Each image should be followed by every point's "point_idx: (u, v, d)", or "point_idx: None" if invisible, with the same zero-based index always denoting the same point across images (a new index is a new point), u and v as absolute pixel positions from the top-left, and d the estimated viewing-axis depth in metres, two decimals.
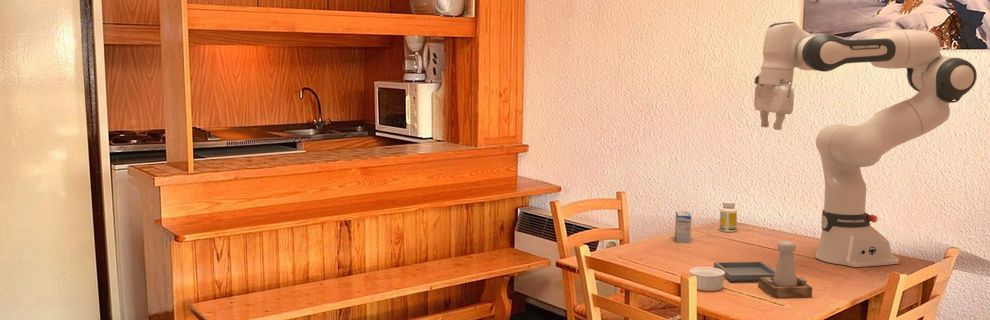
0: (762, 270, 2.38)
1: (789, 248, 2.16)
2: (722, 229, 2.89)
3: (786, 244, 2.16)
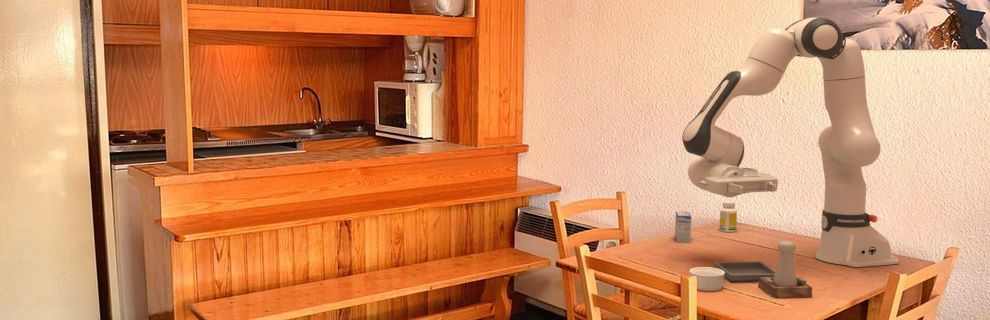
0: (762, 270, 2.38)
1: (789, 248, 2.16)
2: (722, 229, 2.89)
3: (786, 244, 2.16)
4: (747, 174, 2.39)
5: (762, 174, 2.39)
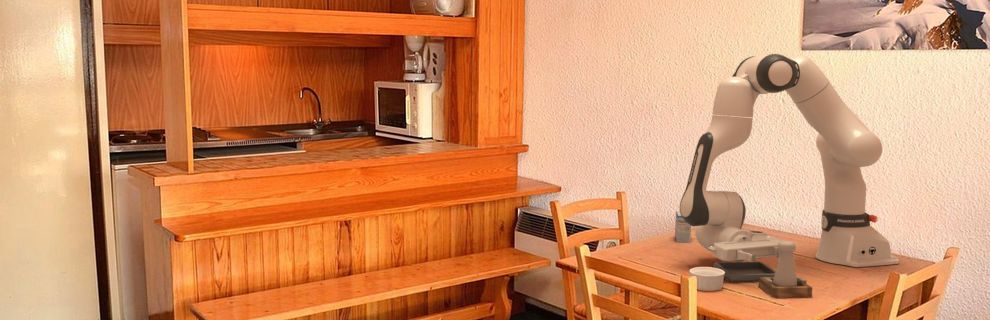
0: (762, 270, 2.38)
1: (789, 248, 2.16)
2: None
3: (786, 244, 2.16)
4: (756, 238, 2.36)
5: (771, 238, 2.37)
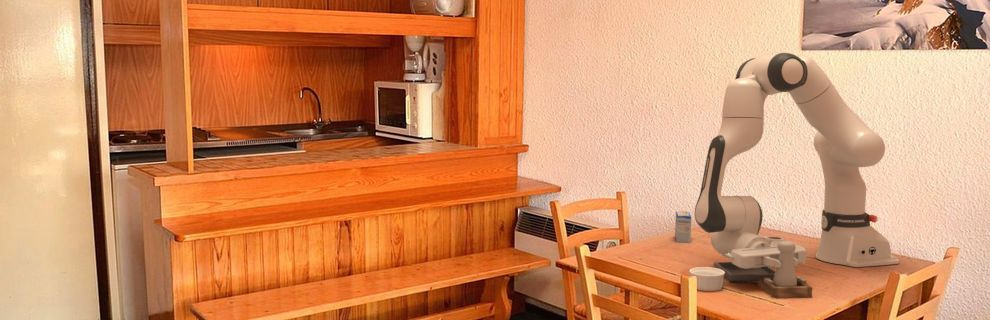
0: (762, 270, 2.38)
1: (789, 248, 2.16)
2: None
3: (786, 244, 2.16)
4: (774, 245, 2.29)
5: None
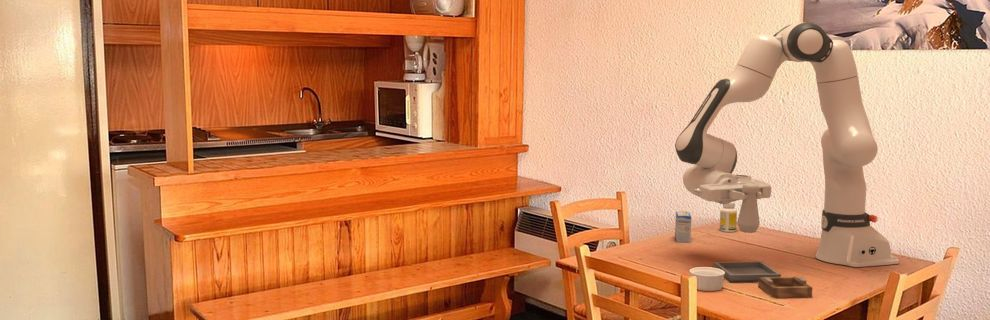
0: (762, 270, 2.38)
1: (751, 189, 2.29)
2: (722, 229, 2.89)
3: (749, 185, 2.30)
4: (741, 181, 2.42)
5: (756, 181, 2.43)
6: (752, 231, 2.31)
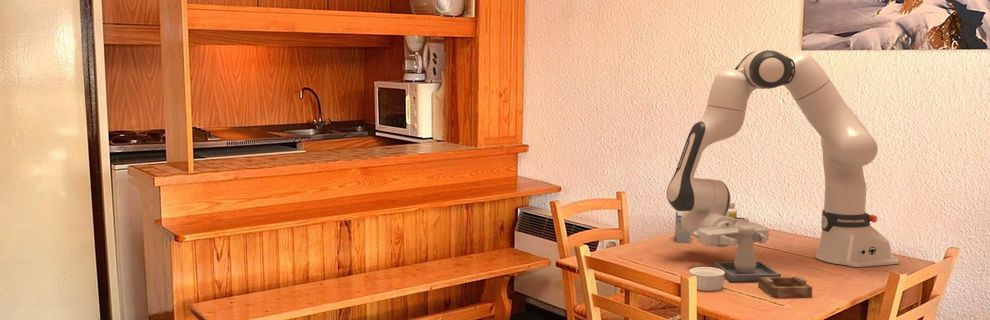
0: (762, 270, 2.38)
1: (747, 231, 2.32)
2: None
3: (745, 228, 2.32)
4: (738, 224, 2.44)
5: (753, 224, 2.45)
6: (749, 273, 2.33)
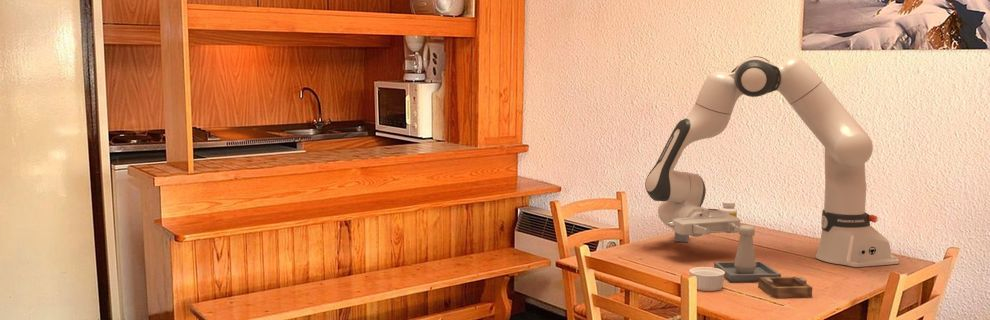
0: (762, 270, 2.38)
1: (747, 231, 2.32)
2: None
3: (745, 228, 2.32)
4: (712, 215, 2.56)
5: (726, 215, 2.56)
6: (749, 273, 2.33)
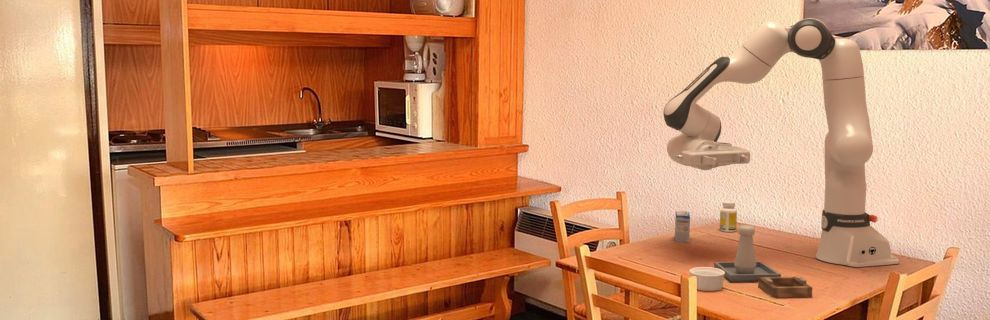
0: (762, 270, 2.38)
1: (747, 231, 2.32)
2: (722, 229, 2.89)
3: (745, 228, 2.32)
4: (721, 148, 2.52)
5: (736, 148, 2.52)
6: (749, 273, 2.33)
